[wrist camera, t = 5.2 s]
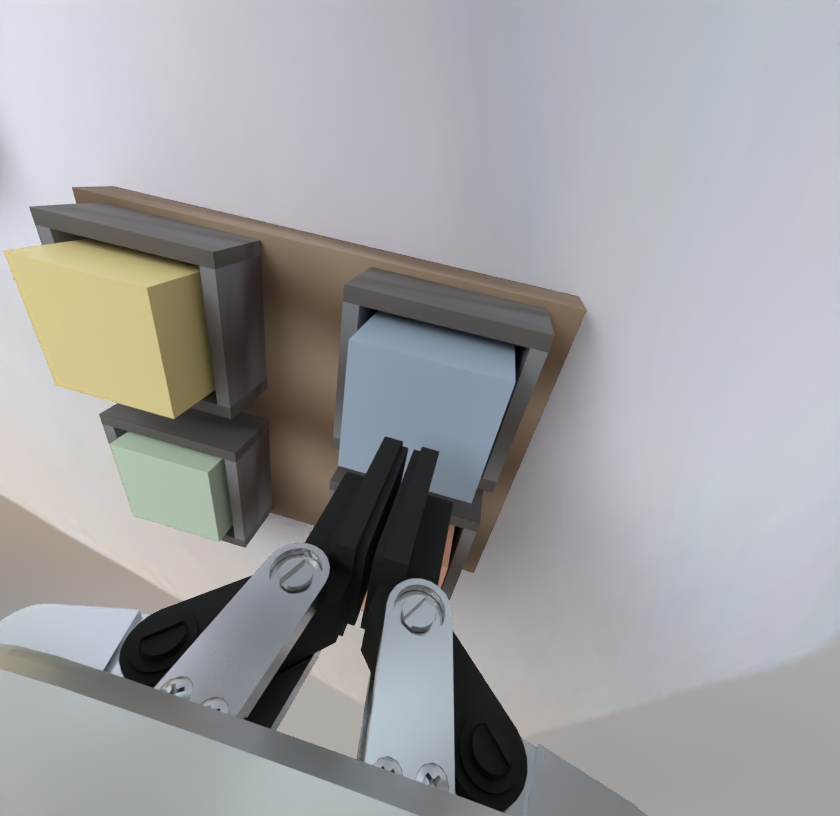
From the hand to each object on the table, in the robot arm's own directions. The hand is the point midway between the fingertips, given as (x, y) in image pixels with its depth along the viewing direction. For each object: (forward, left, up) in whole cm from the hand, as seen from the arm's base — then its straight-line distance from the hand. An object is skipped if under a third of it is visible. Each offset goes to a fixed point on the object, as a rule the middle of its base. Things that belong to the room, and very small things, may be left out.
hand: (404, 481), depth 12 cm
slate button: (-1, 0, -5) cm, 5 cm away
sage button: (+9, -12, -7) cm, 16 cm away
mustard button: (-1, -12, -5) cm, 13 cm away
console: (+4, -6, -9) cm, 12 cm away
